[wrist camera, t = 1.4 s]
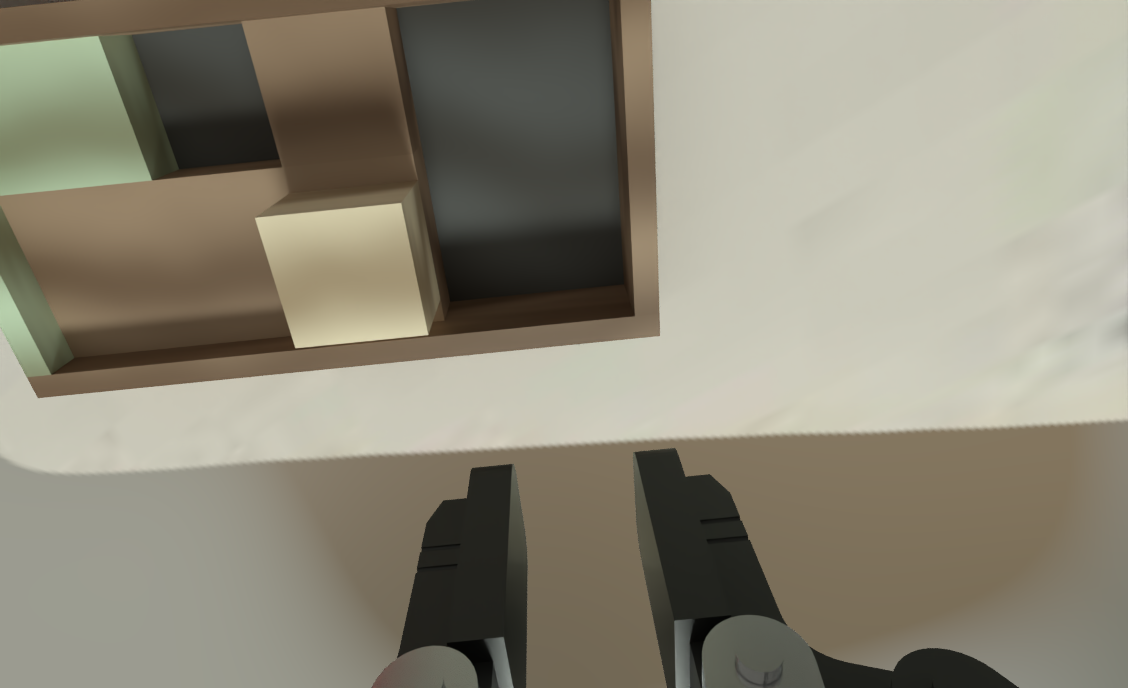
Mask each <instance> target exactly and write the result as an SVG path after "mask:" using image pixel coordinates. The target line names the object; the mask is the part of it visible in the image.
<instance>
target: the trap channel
mask: <svg viewBox="0 0 1128 688" xmlns="http://www.w3.org/2000/svg"><path fill="white" fill-rule="evenodd" d="M417 180H418V185H419V190H420V195H421V200H422V206H423V211H424V216H425V221H426V226H427V232H428V237H429V242H430V247H431V253H432V258H433V263H434V268H435V274H436V279H437V284H438V289H439V295H440V302H439V305H438V308H437V311H436V314H435V317H434V320H433V323H432V326H431V328H430V331H429V334H428V335H424V336H414V337H404V338H394V339H384V340H374V341H364V342H354V343H344V344H334V345H324V346H314V347H304V348H295V345H294V342H293V339H292V336H291V333H290V329H289V326H288V323H287V320H286V316H285V313H284V310H283V307H282V304H281V300H280V297H279V294H278V291H277V287H276V284H275V281H274V278H273V275H272V271H271V268H270V265H269V262H268V259H267V255H266V252H265V249H264V246H263V242H262V239H261V236H260V233H259V230H258V226H257V223H256V220H255V217H257V216H258V215H260V214H261V213H262V212H264V211H265V210H267V209H268V208H269V207H271V206H272V205H274V204H275V203H277V202H278V201H279V200H281V199H282V198H284V197H285V196H287V195H288V194H289V193H299V192H308V191H318V190H328V189H338V188H348V187H358V186H368V185H378V184H388V183H398V182H407V181H417ZM0 327H1V329H2V331H3V333H4V335H5V337H6V339H7V341H8V342H9V344H10V346H11V348H12V350H13V352H14V354H15V356H16V358H17V359H18V361H19V363H20V365H21V367H22V369H23V371H24V373H25V374H26V376H27V378H28V380H29V382H30V384H31V386H32V388H33V390H34V391H35V393H36V395H37V397H38V398H43V397H53V396H63V395H73V394H83V393H93V392H103V391H113V390H123V389H133V388H143V387H153V386H163V385H173V384H183V383H193V382H203V381H213V380H223V379H233V378H243V377H253V376H263V375H273V374H283V373H293V372H303V371H313V370H323V369H333V368H343V367H353V366H363V365H373V364H383V363H393V362H403V361H413V360H423V359H433V358H443V357H453V356H463V355H473V354H483V353H493V352H503V351H513V350H523V349H533V348H543V347H553V346H563V345H573V344H583V343H593V342H603V341H613V340H623V339H633V338H643V337H653V336H660V320H659V283H658V247H657V211H656V174H655V138H654V101H653V65H652V28H651V0H75V1H66V2H56V3H46V4H36V5H26V6H17V7H7V8H0Z"/></svg>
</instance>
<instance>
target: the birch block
mask: <svg viewBox="0 0 1128 688" xmlns="http://www.w3.org/2000/svg"><path fill="white" fill-rule="evenodd" d="M255 220H256V223H257V226H258V230H259V233H260V236H261V239H262V242H263V246H264V249H265V252H266V255H267V259H268V262H269V265H270V268H271V271H272V275H273V278H274V281H275V284H276V287H277V291H278V294H279V297H280V300H281V304H282V307H283V310H284V313H285V316H286V320H287V323H288V326H289V329H290V333H291V336H292V339H293V342H294V345H295V348H304V347H314V346H324V345H334V344H344V343H354V342H364V341H374V340H384V339H394V338H404V337H414V336H424V335H428V334H429V331H430V328H431V326H432V323H433V320H434V317H435V314H436V311H437V308H438V305H439V302H440V295H439V289H438V284H437V279H436V274H435V268H434V263H433V258H432V253H431V247H430V242H429V237H428V232H427V226H426V221H425V216H424V211H423V206H422V200H421V195H420V190H419V185H418V180H417V181H407V182H398V183H388V184H378V185H368V186H358V187H348V188H338V189H328V190H318V191H308V192H299V193H289V194H288V195H287V196H285V197H284V198H282V199H281V200H279V201H278V202H277V203H275V204H274V205H272V206H271V207H269V208H268V209H267V210H265V211H264V212H262V213H261V214H260V215H258V216H257V217H255Z"/></svg>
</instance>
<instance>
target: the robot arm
mask: <svg viewBox="0 0 1128 688" xmlns="http://www.w3.org/2000/svg"><path fill="white" fill-rule="evenodd" d="M633 467H634V486H635V505H636V522H637V533H638V541H639V548H640V554H641V560H642V565H643V570H644V574H645V580H646V585H647V590H648V594H649V599H650V605H651V610H652V615H653V619H654V624H655V630H656V634H657V640H658V644H659V649H660V655H661V659H662V665H663V670H664V674H665V680H666V684H667V688H1019V687H1017V686H1016V685H1014V684H1013V683H1012V682H1010V681H1009V680H1007V679H1006V678H1005V677H1003V676H1002V675H1000V674H999V673H998V672H996V671H995V670H993V669H992V668H990V667H988V666H987V665H986V664H984V663H982V662H980V661H978V660H977V659H974V658H972V657H970V656H967V655H965V654H962V653H959V652H955V651H951V650H946V649H938V648H927V649H921V650H917V651H914V652H911V653H909V654H907V655H906V656H904V657H903V658H902V659H901V660H900V661H899V662H898V663H897V665H896V667H895V669H894V671H889V670H883V669H878V668H873V667H867V666H863V665H857V664H852V663H848V662H844V661H840V660H836V659H833V658H831V657H828V656H825V655H824V654H822V653H819V652H817V651H816V650H814V649H813V648H811V647H809V646H808V644H807V643H806V642H805V641H804V639H802V637H801V636H800V635H799V634H797V633H796V632H795V631H794V630H793V629H791V628H790V627H788V626H787V624H786V623H785V622H784V620H783V618H782V616H781V614H780V611H779V609H778V607H777V604H776V602H775V600H774V597H773V595H772V593H771V590H770V587H769V585H768V583H767V580H766V578H765V575H764V573H763V571H762V568H761V566H760V564H759V561H758V559H757V556H756V554H755V551H754V549H753V547H752V544H751V542H750V540H748V535H747V532H746V530H745V528H744V525H743V523H742V521H740V516H739V513H738V511H737V508H736V506H735V503H734V501H733V499H732V496H731V494H730V492H728V491H727V490H726V489H725V488H724V487H723V486H722V485H721V484H720V483H719V482H718V481H716V480H715V479H714V478H713V477H712V476H711V475H710V474H708V475H699V476H688V477H685V474H684V471H683V468H682V465H681V462H680V459H679V456H678V453H677V450H676V449H675V448H670V449H660V450H650V451H640V452H634V453H633ZM421 548H422V552H421V553H420V556H419V561H418V566H417V573H416V575H415V580H414V584H413V589H412V593H411V598H410V603H409V607H408V612H407V617H406V621H405V626H404V631H403V635H402V640H401V645H400V649H399V653H398V656H397V659H396V660H395V661H393V662H392V663H390V664H389V665H388V667H386V668H385V669H384V670H383V671H382V673H381V674H380V675H379V676H378V677H377V679H376V681H375V682H374V684H373V686H372V688H526V653H527V651H526V649H527V644H526V643H527V570H528V569H527V568H528V565H527V546H526V536H525V528H524V521H523V515H522V509H521V503H520V496H519V489H518V483H517V477H516V470H515V467H514V464H509V465H498V466H489V467H478V468H472V470H471V474H470V480H469V487H468V495H467V498H465V499H455V500H445V501H443V502H442V503H441V504H440V506H439V507H438V508H437V510H436V511H435V512H434V514H433V515H432V516H431V518H430V519H429V521H428V522H427V524H426V529H425V533H424V538H423V542H422V547H421Z"/></svg>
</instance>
